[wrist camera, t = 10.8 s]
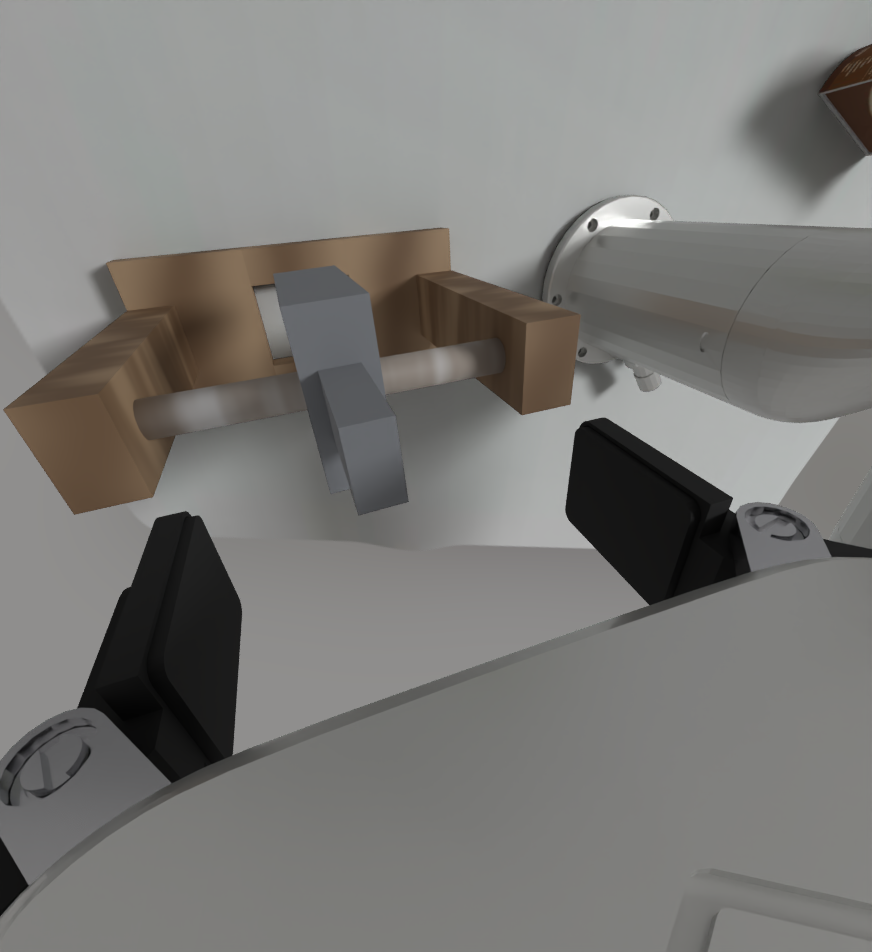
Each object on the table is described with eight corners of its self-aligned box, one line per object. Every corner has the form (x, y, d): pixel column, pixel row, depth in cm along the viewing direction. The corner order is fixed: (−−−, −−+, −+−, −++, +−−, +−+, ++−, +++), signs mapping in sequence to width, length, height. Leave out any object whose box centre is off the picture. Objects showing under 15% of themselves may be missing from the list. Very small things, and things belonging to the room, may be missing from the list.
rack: (441, 227, 29) (589, 245, 16) (447, 357, 34) (564, 451, 21) (113, 260, 25) (-56, 323, 11) (175, 405, 30) (108, 565, 16)
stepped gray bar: (361, 404, 26) (435, 548, 15) (311, 415, 25) (350, 575, 14) (334, 265, 21) (410, 325, 11) (272, 273, 21) (287, 347, 10)
